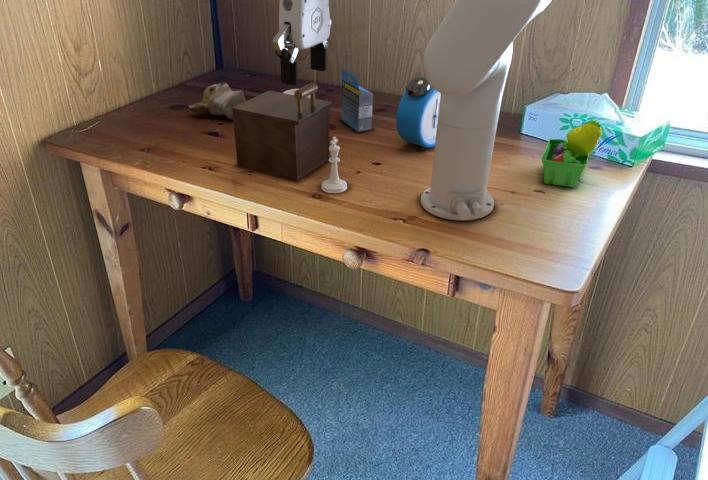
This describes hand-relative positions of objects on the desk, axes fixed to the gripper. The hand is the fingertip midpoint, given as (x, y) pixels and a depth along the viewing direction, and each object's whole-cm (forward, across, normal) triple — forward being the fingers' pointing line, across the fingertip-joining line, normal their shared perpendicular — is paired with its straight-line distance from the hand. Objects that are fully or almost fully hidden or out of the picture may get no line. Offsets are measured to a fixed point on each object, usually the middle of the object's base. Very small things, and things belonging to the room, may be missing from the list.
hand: (304, 76), depth 113 cm
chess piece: (+18, -5, -9) cm, 21 cm away
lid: (+7, 0, +5) cm, 9 cm away
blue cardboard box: (+19, +26, +3) cm, 32 cm away
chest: (+18, 0, +5) cm, 19 cm away
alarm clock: (+18, +23, -15) cm, 33 cm away
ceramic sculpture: (+19, +16, +35) cm, 43 cm away
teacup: (+19, +22, +16) cm, 33 cm away
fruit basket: (+18, +21, -45) cm, 53 cm away
